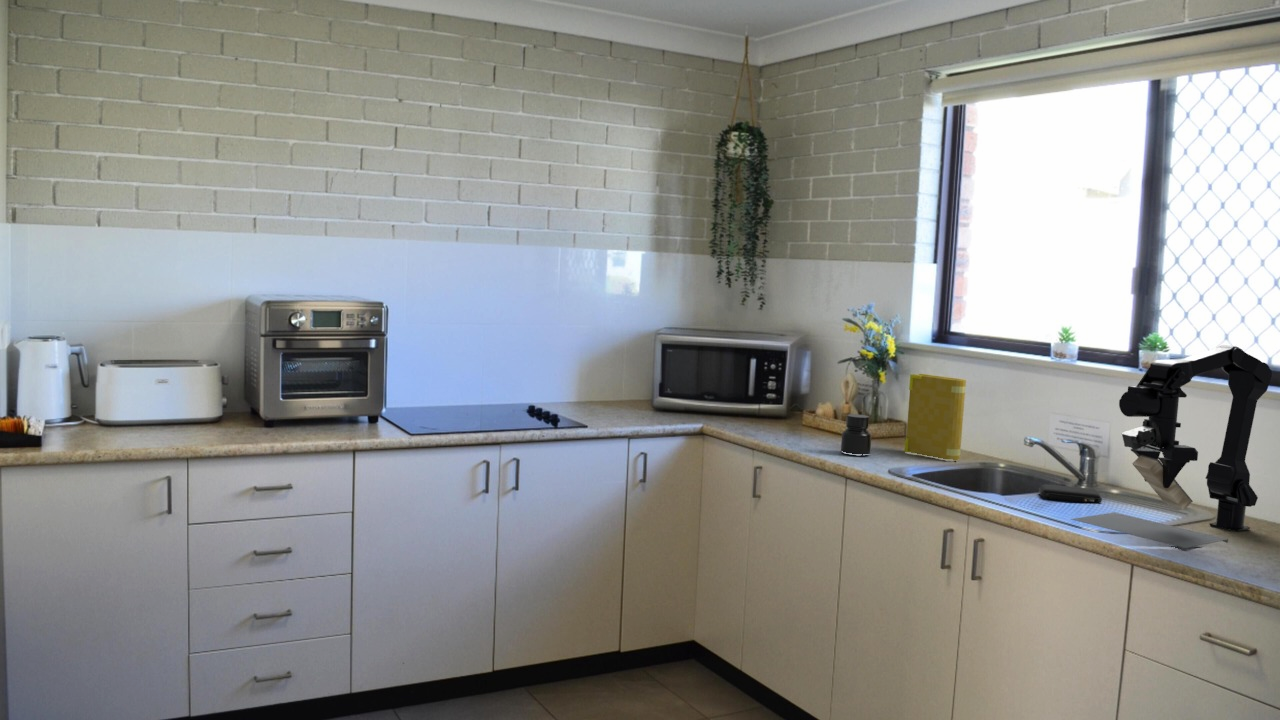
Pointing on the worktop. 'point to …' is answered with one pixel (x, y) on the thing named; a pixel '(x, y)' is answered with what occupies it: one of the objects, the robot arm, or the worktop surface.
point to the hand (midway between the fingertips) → (1156, 484)
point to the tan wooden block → (1161, 482)
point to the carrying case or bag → (1070, 494)
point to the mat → (1151, 530)
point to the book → (935, 416)
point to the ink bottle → (856, 435)
